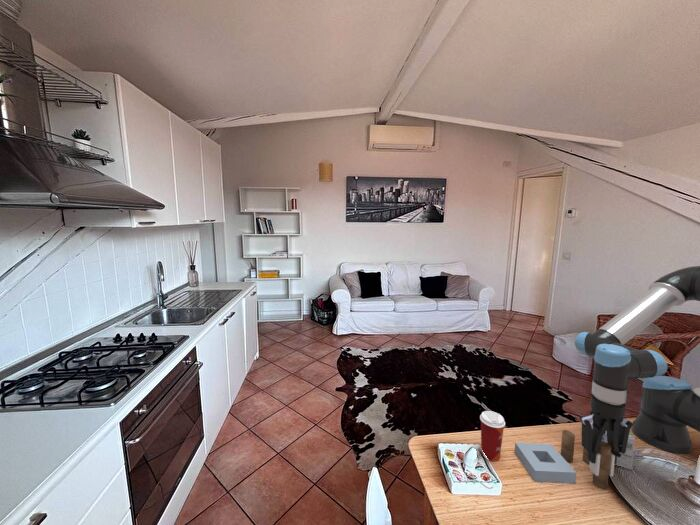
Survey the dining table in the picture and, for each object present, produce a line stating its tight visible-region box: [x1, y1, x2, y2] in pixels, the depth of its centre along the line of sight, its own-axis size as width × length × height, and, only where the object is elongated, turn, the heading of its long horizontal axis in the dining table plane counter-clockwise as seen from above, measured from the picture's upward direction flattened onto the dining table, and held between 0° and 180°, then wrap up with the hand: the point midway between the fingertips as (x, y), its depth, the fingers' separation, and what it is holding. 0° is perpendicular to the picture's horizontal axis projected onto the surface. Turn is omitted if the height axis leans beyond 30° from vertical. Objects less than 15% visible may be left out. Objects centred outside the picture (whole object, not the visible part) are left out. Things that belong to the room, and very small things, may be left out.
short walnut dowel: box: [582, 447, 590, 465], centre depth 96 cm, size 3×3×6 cm
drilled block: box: [514, 442, 577, 484], centre depth 94 cm, size 12×12×4 cm
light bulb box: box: [592, 421, 636, 471], centre depth 97 cm, size 11×7×11 cm, turn 65°
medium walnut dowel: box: [560, 429, 576, 464], centre depth 97 cm, size 3×3×9 cm
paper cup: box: [479, 410, 506, 462], centre depth 98 cm, size 8×8×14 cm
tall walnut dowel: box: [592, 441, 611, 490], centre depth 87 cm, size 3×3×13 cm
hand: (600, 472), depth 87 cm, fingers closed on tall walnut dowel, 3 cm apart
